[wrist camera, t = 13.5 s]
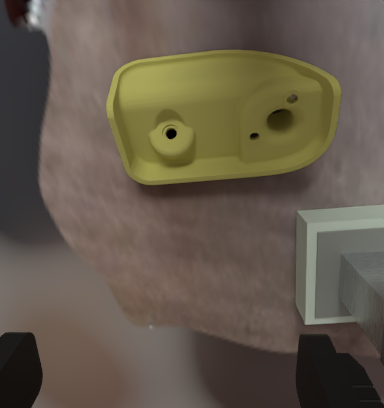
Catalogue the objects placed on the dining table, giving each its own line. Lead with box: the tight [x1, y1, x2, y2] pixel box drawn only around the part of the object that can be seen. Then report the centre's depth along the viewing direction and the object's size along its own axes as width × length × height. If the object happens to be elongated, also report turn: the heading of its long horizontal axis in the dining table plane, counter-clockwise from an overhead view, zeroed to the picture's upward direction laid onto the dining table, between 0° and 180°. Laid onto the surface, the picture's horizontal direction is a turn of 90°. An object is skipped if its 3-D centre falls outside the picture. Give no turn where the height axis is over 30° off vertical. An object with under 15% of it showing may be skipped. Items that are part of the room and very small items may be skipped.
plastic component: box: [106, 50, 342, 185], centre depth 34 cm, size 20×7×10 cm
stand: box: [295, 205, 384, 325], centre depth 39 cm, size 12×12×4 cm
